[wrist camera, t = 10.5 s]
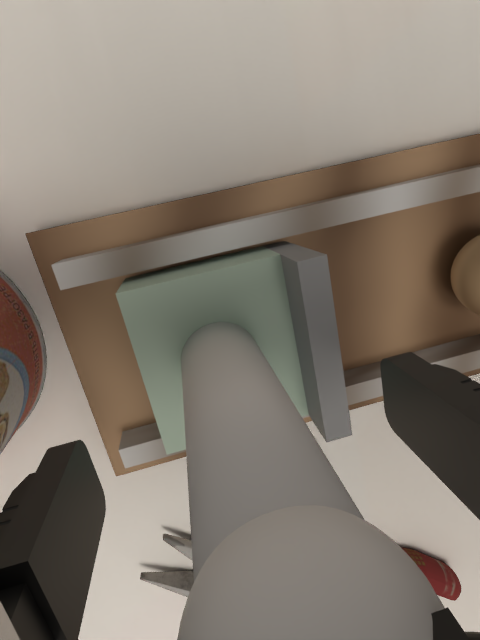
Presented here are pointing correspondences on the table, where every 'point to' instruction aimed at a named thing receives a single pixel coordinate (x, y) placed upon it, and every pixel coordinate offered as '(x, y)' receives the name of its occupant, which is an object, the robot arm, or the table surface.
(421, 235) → the base
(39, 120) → the table surface
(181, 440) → the grey post on base
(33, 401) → the canned food
